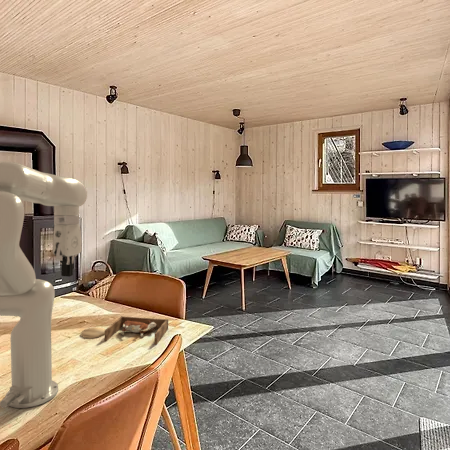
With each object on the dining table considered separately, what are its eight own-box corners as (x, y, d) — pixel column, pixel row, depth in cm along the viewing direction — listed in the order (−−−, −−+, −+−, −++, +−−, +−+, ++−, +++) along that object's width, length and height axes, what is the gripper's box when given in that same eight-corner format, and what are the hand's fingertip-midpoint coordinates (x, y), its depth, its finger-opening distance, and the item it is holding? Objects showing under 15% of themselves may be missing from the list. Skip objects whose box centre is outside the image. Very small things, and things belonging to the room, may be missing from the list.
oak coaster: (99, 339, 135) (99, 336, 135) (76, 337, 136) (76, 335, 136) (109, 330, 144) (109, 328, 144) (88, 328, 145) (88, 326, 145)
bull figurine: (152, 327, 137) (158, 319, 145) (117, 325, 138) (125, 317, 146) (152, 338, 138) (157, 330, 146) (117, 336, 138) (125, 328, 147)
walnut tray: (156, 344, 132) (156, 334, 131) (104, 340, 134) (104, 330, 133) (168, 329, 147) (168, 319, 147) (121, 325, 149) (121, 316, 149)
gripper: (64, 222, 111) (64, 281, 113) (89, 220, 126) (89, 272, 127) (41, 221, 112) (42, 280, 114) (68, 219, 127) (69, 270, 128)
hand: (67, 275), depth 120 cm, fingers closed
